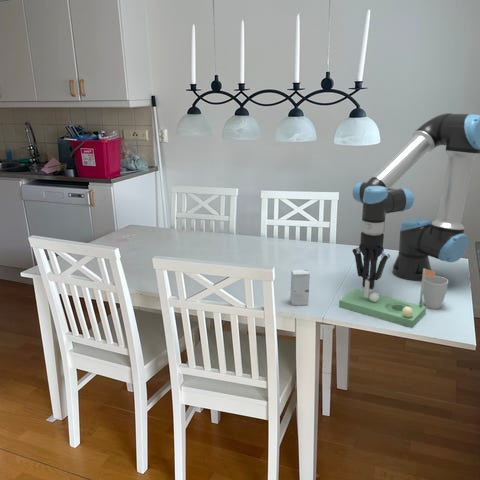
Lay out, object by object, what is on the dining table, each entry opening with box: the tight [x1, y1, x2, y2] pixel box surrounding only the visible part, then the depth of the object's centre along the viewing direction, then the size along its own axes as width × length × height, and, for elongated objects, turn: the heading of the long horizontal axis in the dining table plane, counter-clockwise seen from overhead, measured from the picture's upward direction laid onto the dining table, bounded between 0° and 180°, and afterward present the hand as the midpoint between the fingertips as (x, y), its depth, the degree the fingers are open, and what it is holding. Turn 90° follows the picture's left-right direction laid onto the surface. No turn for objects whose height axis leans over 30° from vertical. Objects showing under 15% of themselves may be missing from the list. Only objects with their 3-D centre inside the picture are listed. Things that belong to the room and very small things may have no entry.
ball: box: [369, 291, 380, 302], centre depth 169 cm, size 3×3×3 cm
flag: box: [418, 268, 436, 308], centre depth 162 cm, size 1×4×14 cm, turn 52°
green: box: [338, 288, 427, 328], centre depth 169 cm, size 26×13×2 cm, turn 51°
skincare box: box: [289, 269, 311, 306], centre depth 174 cm, size 6×4×12 cm
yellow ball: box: [402, 306, 413, 317], centre depth 158 cm, size 3×3×3 cm
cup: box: [422, 275, 449, 310], centre depth 170 cm, size 8×8×10 cm
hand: (367, 296), depth 171 cm, fingers closed
